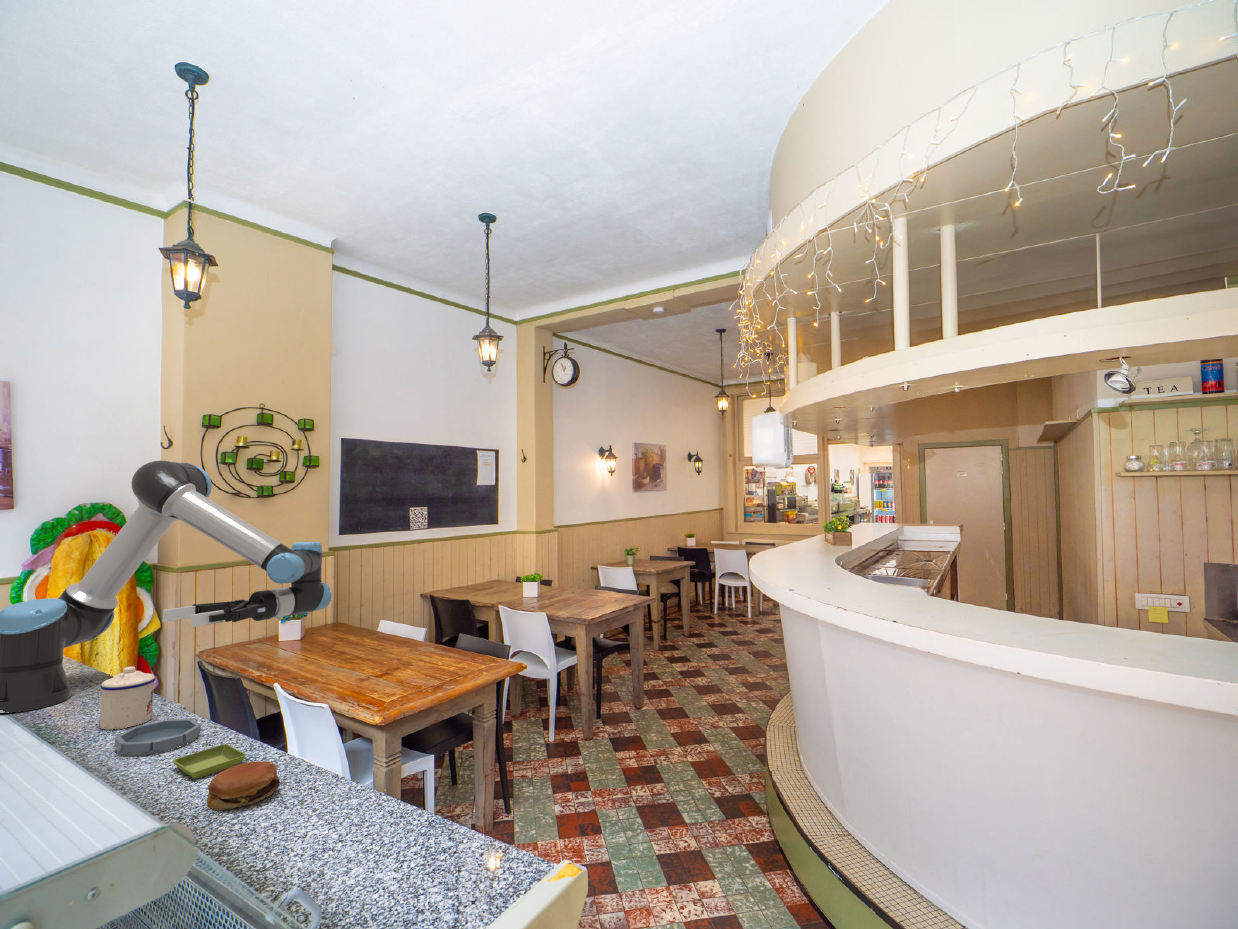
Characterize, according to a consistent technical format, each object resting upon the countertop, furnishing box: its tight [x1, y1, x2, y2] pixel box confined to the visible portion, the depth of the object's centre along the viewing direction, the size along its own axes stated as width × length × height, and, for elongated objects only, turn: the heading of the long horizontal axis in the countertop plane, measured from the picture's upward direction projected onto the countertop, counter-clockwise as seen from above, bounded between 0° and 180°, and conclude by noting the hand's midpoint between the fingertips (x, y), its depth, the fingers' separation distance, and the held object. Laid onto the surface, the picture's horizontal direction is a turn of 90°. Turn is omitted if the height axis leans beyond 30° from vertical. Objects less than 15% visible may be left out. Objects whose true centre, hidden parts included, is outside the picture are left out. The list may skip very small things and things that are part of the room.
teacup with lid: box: [99, 666, 156, 731], centre depth 127 cm, size 12×9×12 cm
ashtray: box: [114, 718, 202, 757], centre depth 116 cm, size 13×13×2 cm
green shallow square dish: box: [172, 743, 247, 780], centre depth 105 cm, size 9×9×2 cm
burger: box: [206, 760, 281, 811], centre depth 94 cm, size 10×9×5 cm
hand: (176, 618), depth 136 cm, fingers open, 13 cm apart
